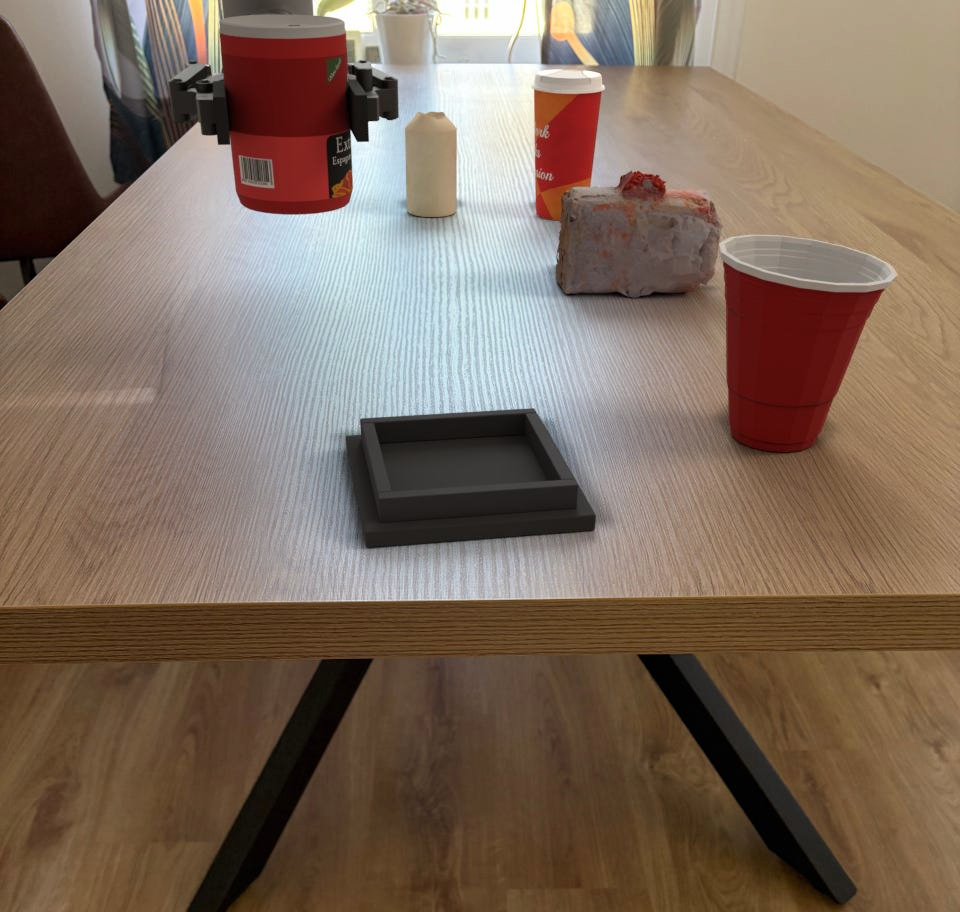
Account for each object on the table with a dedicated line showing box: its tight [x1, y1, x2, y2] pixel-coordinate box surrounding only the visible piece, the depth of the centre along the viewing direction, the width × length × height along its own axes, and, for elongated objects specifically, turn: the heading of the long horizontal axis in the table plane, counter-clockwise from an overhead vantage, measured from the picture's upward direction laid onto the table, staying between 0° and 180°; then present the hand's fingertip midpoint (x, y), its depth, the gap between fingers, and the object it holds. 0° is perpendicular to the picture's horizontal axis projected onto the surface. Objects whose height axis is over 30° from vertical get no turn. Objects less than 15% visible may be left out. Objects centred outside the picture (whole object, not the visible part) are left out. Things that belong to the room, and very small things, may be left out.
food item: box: [555, 170, 724, 299], centre depth 99 cm, size 14×8×10 cm, turn 95°
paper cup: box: [530, 68, 606, 221], centre depth 120 cm, size 8×8×14 cm
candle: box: [404, 111, 458, 218], centre depth 121 cm, size 6×6×10 cm
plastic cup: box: [718, 234, 899, 453], centre depth 71 cm, size 11×11×12 cm
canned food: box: [218, 14, 354, 216], centre depth 74 cm, size 8×8×11 cm
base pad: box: [345, 407, 597, 548], centre depth 67 cm, size 13×13×2 cm
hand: (292, 119), depth 70 cm, fingers closed on canned food, 8 cm apart
